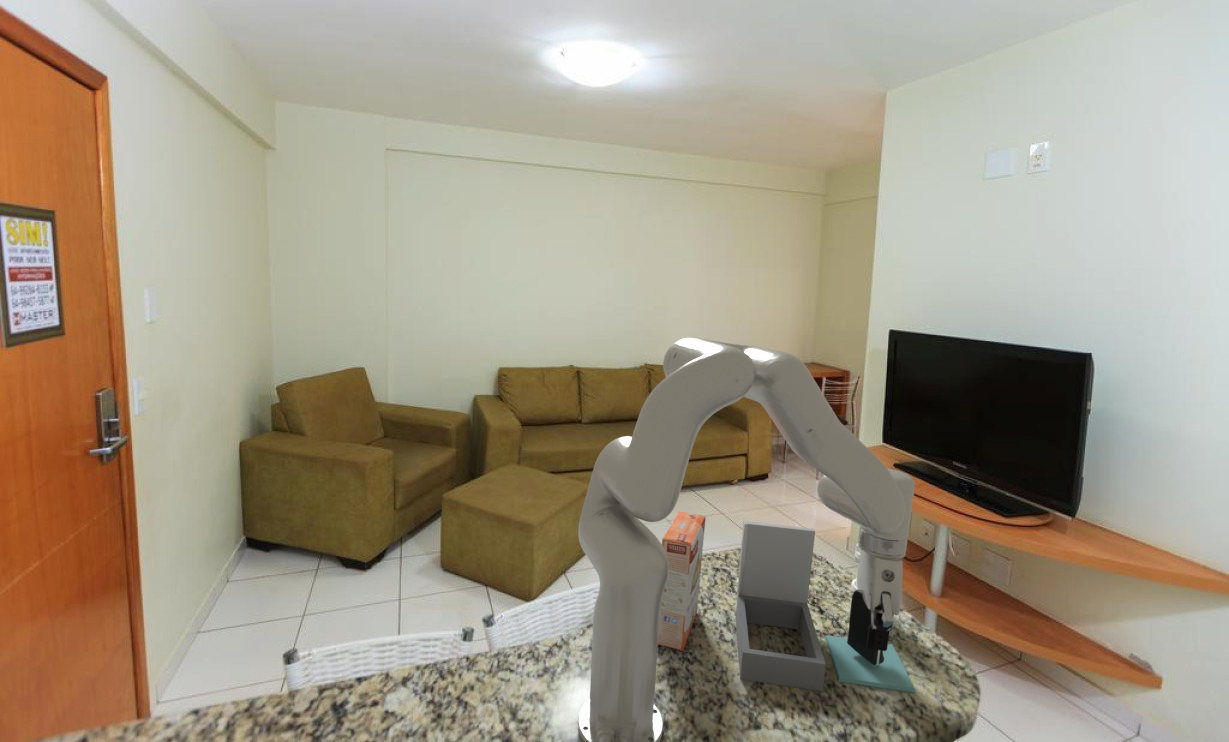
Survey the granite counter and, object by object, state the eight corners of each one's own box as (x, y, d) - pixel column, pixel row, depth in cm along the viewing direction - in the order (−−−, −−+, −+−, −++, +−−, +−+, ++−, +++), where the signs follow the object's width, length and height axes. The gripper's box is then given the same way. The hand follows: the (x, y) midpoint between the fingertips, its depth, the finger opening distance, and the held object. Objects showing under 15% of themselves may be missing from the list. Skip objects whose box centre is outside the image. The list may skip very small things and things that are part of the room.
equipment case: (822, 691, 95) (835, 579, 92) (740, 679, 97) (750, 569, 94) (803, 623, 114) (814, 528, 111) (735, 614, 117) (743, 520, 113)
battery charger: (891, 663, 100) (899, 603, 98) (874, 668, 99) (882, 606, 97) (861, 640, 107) (868, 582, 105) (845, 643, 105) (852, 585, 103)
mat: (914, 692, 96) (914, 688, 96) (839, 681, 98) (839, 677, 98) (892, 648, 108) (892, 644, 108) (825, 639, 110) (825, 635, 110)
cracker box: (685, 653, 104) (693, 544, 100) (653, 645, 105) (659, 537, 102) (699, 612, 117) (707, 514, 113) (670, 605, 119) (677, 509, 115)
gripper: (923, 568, 90) (909, 670, 93) (890, 523, 107) (878, 610, 110) (873, 562, 91) (860, 663, 94) (847, 518, 108) (837, 605, 111)
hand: (870, 634), depth 102 cm, fingers closed on battery charger, 7 cm apart
